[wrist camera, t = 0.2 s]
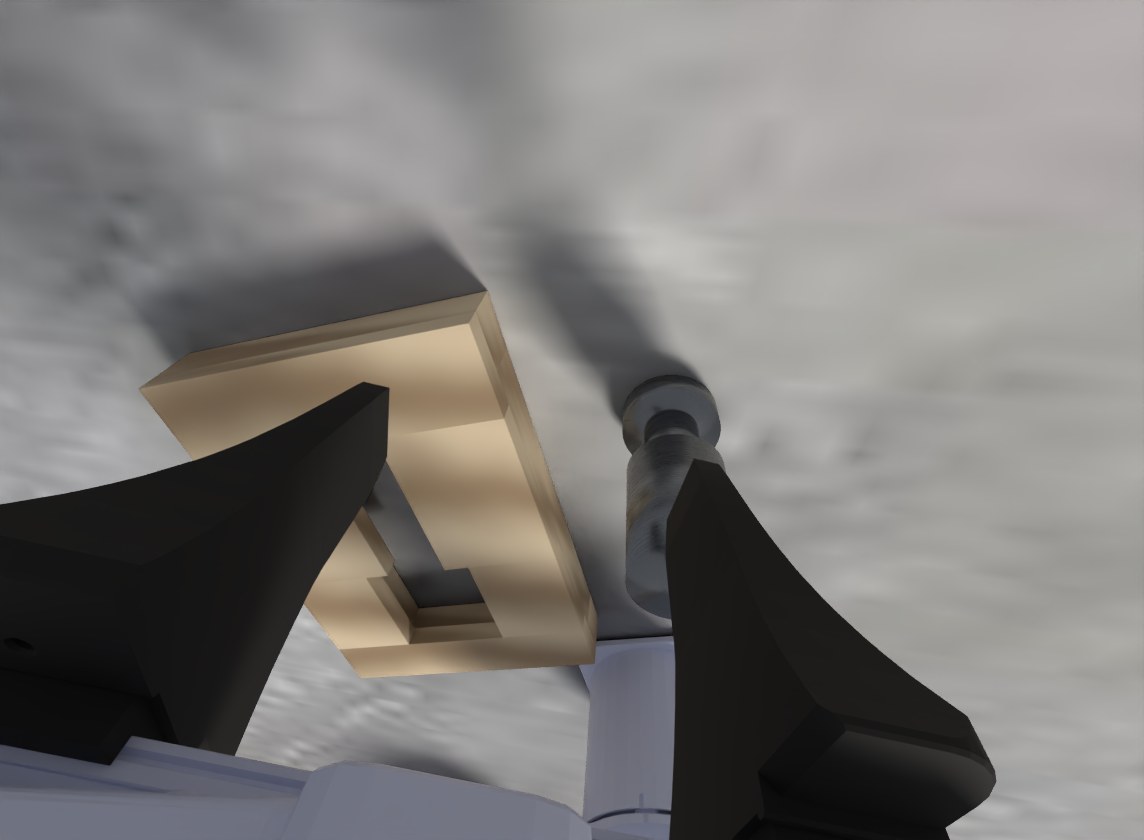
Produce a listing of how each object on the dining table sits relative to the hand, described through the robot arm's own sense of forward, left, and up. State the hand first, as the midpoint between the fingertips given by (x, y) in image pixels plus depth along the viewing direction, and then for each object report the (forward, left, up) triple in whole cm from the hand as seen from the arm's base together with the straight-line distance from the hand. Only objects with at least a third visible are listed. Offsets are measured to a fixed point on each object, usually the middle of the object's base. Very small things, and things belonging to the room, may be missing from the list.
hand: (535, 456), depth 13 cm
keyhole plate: (-9, +10, -10) cm, 17 cm away
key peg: (-6, -3, -10) cm, 12 cm away
